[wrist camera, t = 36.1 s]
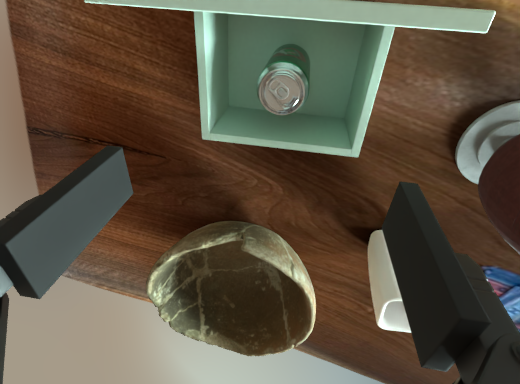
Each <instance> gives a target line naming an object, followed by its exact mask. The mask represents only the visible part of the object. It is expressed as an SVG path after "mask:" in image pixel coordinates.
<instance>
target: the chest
mask: <svg viewBox="0 0 520 384" xmlns="http://www.w3.org/2000/svg"><path fill="white" fill-rule="evenodd" d="M194 22H195V38H196V53H197V68H198V83H199V99H200V114H201V129H202V139H205V140H214V141H223V142H231V143H240V144H248V145H257V146H265V147H274V148H282V149H291V150H299V151H308V152H316V153H325V154H333V155H342V156H350V157H358V156H359V153H360V149H361V146H362V142H363V138H364V135H365V131H366V128H367V124H368V121H369V117H370V114H371V110H372V107H373V103H374V99H375V96H376V92H377V89H378V85H379V82H380V78H381V75H382V71H383V68H384V64H385V60H386V57H387V53H388V50H389V46H390V43H391V39H392V36H393V32H394V29H395V26H384V25H371V24H358V23H344V22H331V21H318V20H305V19H292V18H279V17H266V16H253V15H240V14H227V13H214V12H201V11H194ZM285 44H296V45H298V46H300V47H302V48H303V49H304V50H305V51H306V52H307V54H308V56H309V59H310V86H309V95H308V98H307V100H306V102H305V104H304V105H303V106H302V107H301V108H300V109H299V110H298V111H296V112H294V113H292V114H289V115H276V114H273V113H271V112H269V111H268V110H267V109H265V108H264V106H263V105H262V104H261V102H260V101H259V99H258V95H257V81H258V78H259V76H260V74H261V72H262V71H263V69H264V67H265V66H266V64H267V63H268V61H269V59H270V58H271V56H272V54H273V53H274V52H275V50H276V49H278V48H279V47H280V46H282V45H285Z"/></svg>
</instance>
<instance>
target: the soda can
mask: <svg viewBox="0 0 520 384" xmlns="http://www.w3.org/2000/svg"><path fill="white" fill-rule="evenodd" d="M309 86H310V59H309V56H308V54H307V52H306V51H305V50H304V49H303V48H302V47H300V46H298V45H296V44H285V45H282V46H280V47H279V48H278V49H276V50H275V52H274V53H273V54H272V56H271V58H270V59H269V61H268V63H267V64H266V66H265V67H264V69H263V71H262V72H261V74H260V76H259V78H258V81H257V95H258V99H259V101H260V102H261V104H262V105H263V106H264V108H265V109H267V110H268V111H269V112H271V113H273V114H276V115H289V114H292V113H294V112H296V111H298V110H299V109H300V108H301V107H302V106H303V105H304V104H305V102H306V100H307V98H308V95H309Z"/></svg>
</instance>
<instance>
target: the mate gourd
mask: <svg viewBox="0 0 520 384" xmlns="http://www.w3.org/2000/svg"><path fill="white" fill-rule="evenodd" d="M455 160H456V164H457V167H458V169H459V170H460V172H461V173H462V174H463V175H464V176H465V177H466V178H467V179H469V180H470V181H472V182H474V183H477V184H478V191H479V196H480V200H481V203H482V205H483V207H484V209H485V212H486V214H487V216H488V218H489V220H490V222H491V223H492V224H493V226H494V227H495V228H496V230H497V231H498V232H499V234H500V235H501V236H502V237H503V238H504V240H505V241H506V242H507V243H508V244H509V245H510V246H511V247H513V248H514V249H515V250H516V251H517V252H518V253H519V254H520V100H519V101H513V102H509V103H506V104H503V105H500V106H498V107H496V108H494V109H491V110H489V111H488V112H486V113H485V114H483V115H482V116H480V117H479V118H477V119H476V120H475V121H474V122H473V123H472V124H471V125H470V126H469V127H468V128H467V129H466V130H465V132H464V133H463V134H462V136H461V138H460V140H459V141H458V144H457V147H456V152H455Z"/></svg>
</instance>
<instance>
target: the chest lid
mask: <svg viewBox="0 0 520 384" xmlns="http://www.w3.org/2000/svg"><path fill="white" fill-rule="evenodd" d="M84 2H86V3H96V4H109V5H122V6H135V7H148V8H161V9H174V10H187V11H201V12H214V13H227V14H240V15H253V16H266V17H279V18H292V19H305V20H318V21H331V22H344V23H358V24H371V25H384V26H397V27H410V28H423V29H436V30H449V31H462V32H475V33H487V31H488V29H489V27H490V25H491V22H492V20H493V18H494V15H495V13H496V11H494V10H481V9H466V8H452V7H438V6H423V5H409V4H394V3H380V2H366V1H351V0H84Z"/></svg>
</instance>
